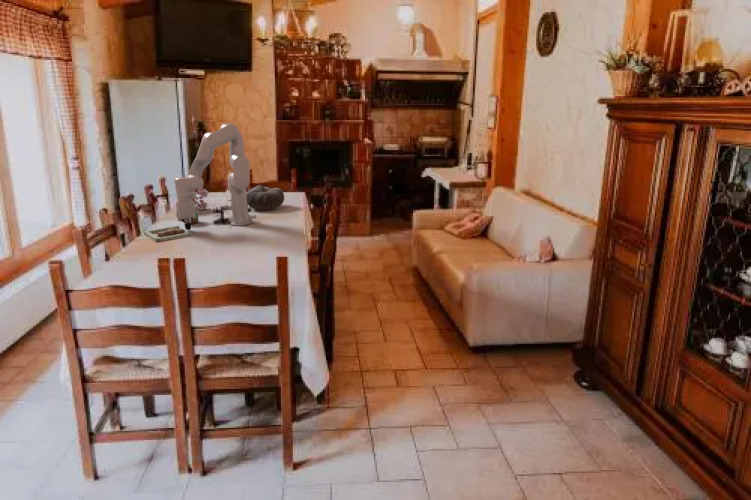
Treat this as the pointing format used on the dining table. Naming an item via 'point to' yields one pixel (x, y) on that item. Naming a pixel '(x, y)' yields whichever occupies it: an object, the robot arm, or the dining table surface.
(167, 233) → the walnut T block
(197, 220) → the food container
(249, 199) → the gourd
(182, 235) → the sage-green bay
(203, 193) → the flower
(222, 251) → the dining table surface
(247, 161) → the robot arm
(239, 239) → the dining table surface
